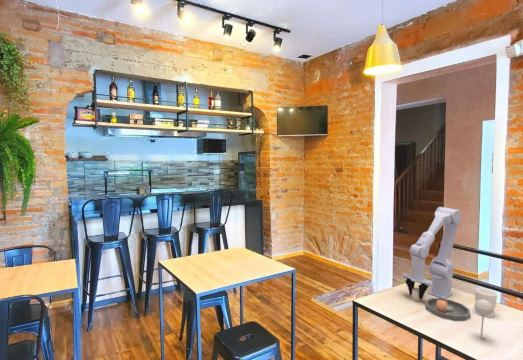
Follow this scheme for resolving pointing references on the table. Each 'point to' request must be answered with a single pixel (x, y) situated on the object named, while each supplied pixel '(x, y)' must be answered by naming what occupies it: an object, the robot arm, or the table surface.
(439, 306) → the bead terracotta
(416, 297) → the bead cream
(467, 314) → the groove tray
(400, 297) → the table surface
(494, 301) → the white cup
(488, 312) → the lollipop
